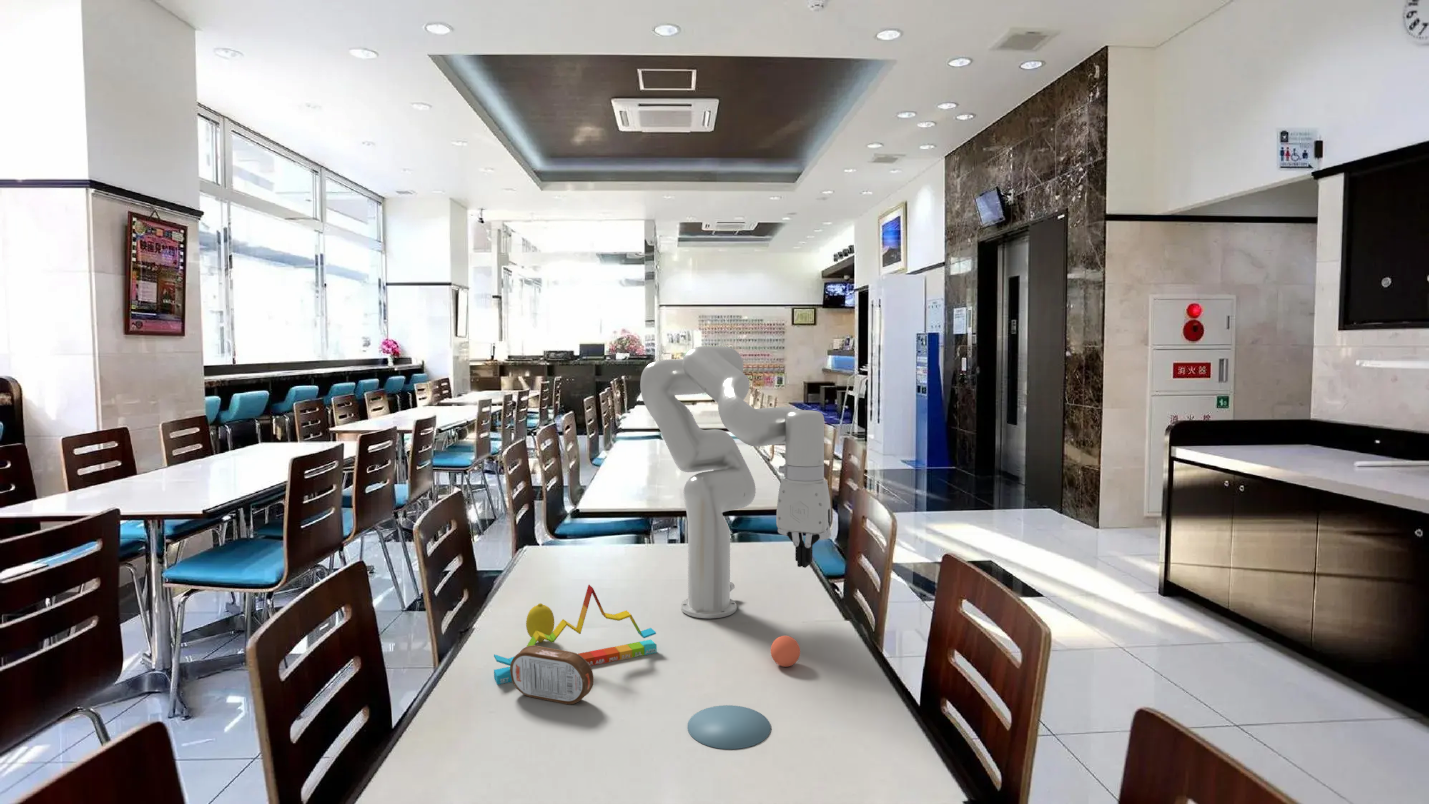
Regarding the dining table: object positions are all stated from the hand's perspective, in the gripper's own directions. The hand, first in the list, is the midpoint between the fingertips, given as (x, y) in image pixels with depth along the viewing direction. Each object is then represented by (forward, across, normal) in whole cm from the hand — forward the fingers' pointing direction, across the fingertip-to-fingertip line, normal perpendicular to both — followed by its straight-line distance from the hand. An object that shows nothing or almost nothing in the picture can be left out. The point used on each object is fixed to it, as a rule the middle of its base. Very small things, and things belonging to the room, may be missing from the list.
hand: (803, 565), depth 144 cm
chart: (+17, -35, -27) cm, 47 cm away
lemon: (+17, -48, -21) cm, 55 cm away
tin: (+17, -31, -39) cm, 53 cm away
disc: (+17, 0, -34) cm, 38 cm away
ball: (+14, 0, -9) cm, 17 cm away
